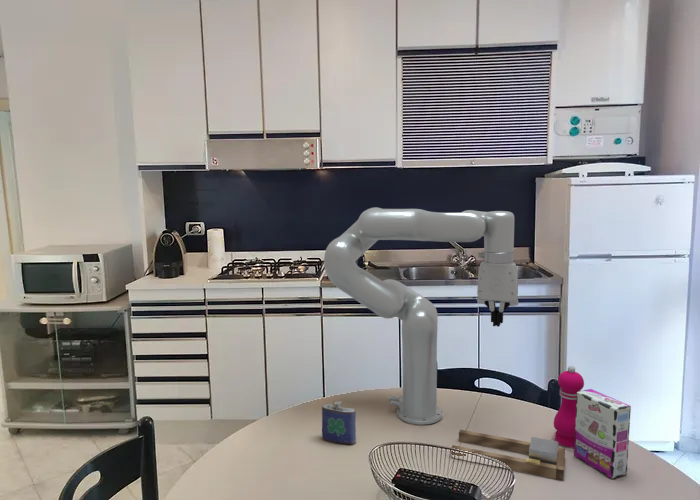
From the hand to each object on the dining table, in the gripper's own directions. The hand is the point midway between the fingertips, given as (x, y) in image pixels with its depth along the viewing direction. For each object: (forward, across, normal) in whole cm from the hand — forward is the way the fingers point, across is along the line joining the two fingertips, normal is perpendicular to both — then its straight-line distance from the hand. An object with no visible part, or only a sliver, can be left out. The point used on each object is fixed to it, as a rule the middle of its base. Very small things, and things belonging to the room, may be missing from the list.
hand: (496, 325), depth 141 cm
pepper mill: (+27, +19, -5) cm, 34 cm away
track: (+27, +6, -19) cm, 34 cm away
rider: (+27, +14, -19) cm, 36 cm away
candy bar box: (+27, +26, -14) cm, 40 cm away
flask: (+27, -35, -27) cm, 52 cm away
